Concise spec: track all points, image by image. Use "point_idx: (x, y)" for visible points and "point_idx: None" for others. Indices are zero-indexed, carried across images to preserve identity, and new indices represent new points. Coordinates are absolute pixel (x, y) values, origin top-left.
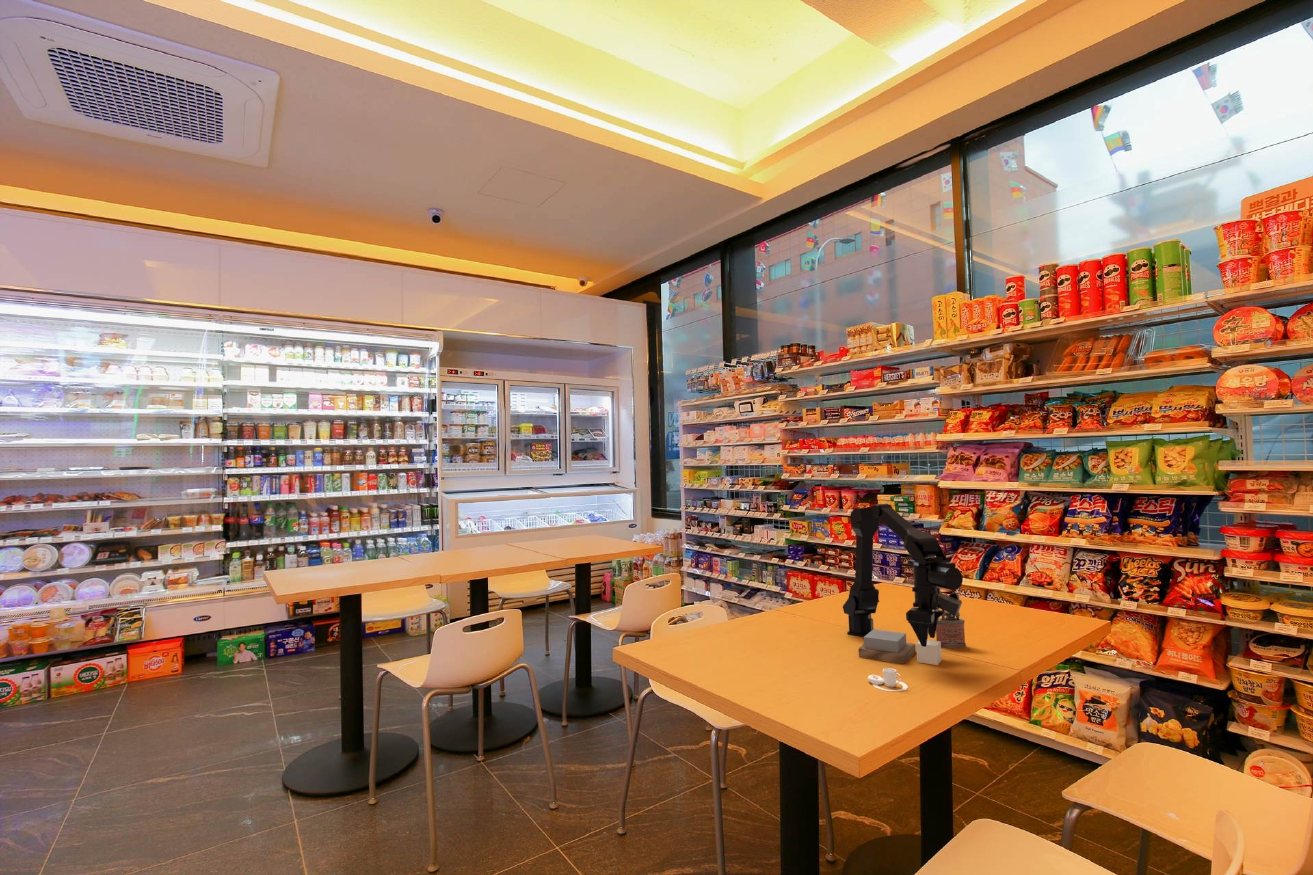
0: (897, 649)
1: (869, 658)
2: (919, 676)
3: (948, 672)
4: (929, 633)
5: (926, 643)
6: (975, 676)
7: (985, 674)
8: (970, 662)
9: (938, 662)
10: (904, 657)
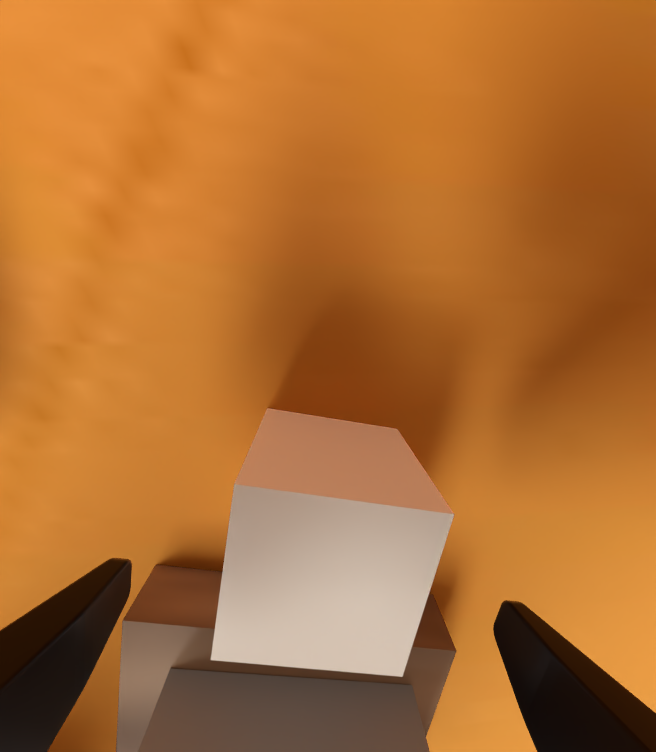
0: (417, 715)
1: None
2: (639, 506)
3: (537, 359)
4: (98, 650)
5: (553, 630)
6: (591, 178)
7: (530, 93)
8: (250, 202)
9: (364, 426)
10: (433, 628)
